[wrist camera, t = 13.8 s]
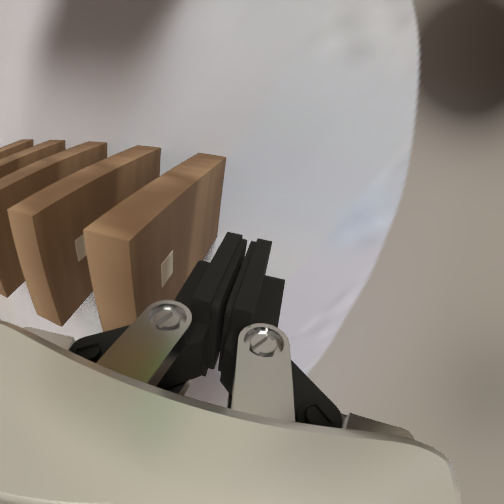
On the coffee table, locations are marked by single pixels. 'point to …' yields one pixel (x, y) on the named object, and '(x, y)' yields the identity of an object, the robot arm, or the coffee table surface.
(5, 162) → the domino
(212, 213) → the domino
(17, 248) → the domino
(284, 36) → the coffee table surface
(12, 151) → the domino
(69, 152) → the domino
